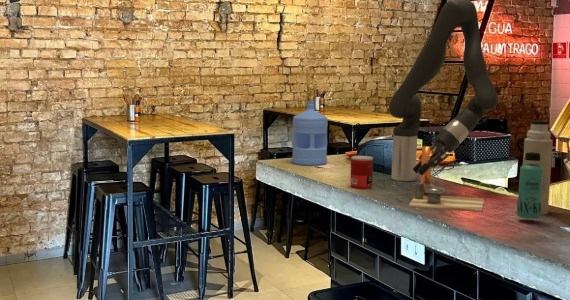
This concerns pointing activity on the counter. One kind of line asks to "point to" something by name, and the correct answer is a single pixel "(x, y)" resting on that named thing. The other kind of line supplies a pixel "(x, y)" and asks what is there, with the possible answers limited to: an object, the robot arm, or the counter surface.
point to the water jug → (310, 137)
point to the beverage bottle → (530, 188)
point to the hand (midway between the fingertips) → (417, 172)
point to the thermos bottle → (541, 144)
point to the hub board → (445, 201)
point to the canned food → (361, 172)
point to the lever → (428, 174)
